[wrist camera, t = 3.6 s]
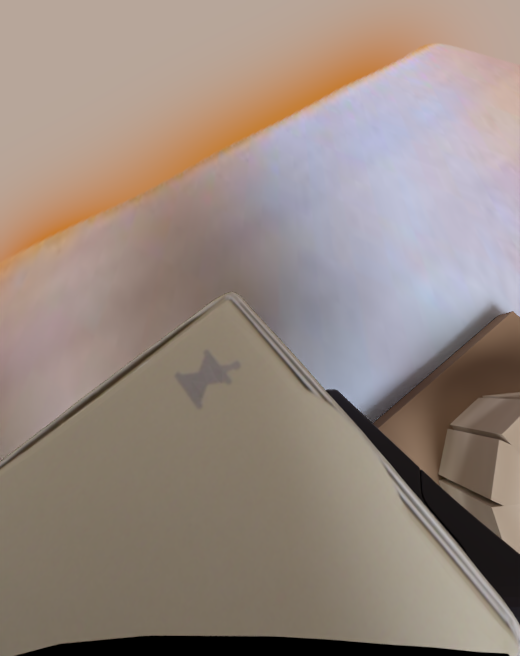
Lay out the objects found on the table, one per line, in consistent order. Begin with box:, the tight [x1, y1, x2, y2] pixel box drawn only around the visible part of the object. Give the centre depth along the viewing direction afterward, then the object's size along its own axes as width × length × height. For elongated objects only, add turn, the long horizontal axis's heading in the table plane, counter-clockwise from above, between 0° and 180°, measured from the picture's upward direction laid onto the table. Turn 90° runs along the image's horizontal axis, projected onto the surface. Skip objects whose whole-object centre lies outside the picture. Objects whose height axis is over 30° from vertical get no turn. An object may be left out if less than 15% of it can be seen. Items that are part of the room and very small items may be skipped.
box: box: [0, 292, 520, 656], centre depth 8 cm, size 5×4×13 cm
